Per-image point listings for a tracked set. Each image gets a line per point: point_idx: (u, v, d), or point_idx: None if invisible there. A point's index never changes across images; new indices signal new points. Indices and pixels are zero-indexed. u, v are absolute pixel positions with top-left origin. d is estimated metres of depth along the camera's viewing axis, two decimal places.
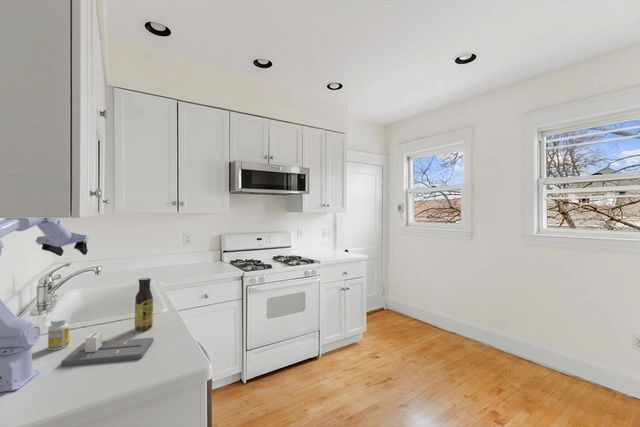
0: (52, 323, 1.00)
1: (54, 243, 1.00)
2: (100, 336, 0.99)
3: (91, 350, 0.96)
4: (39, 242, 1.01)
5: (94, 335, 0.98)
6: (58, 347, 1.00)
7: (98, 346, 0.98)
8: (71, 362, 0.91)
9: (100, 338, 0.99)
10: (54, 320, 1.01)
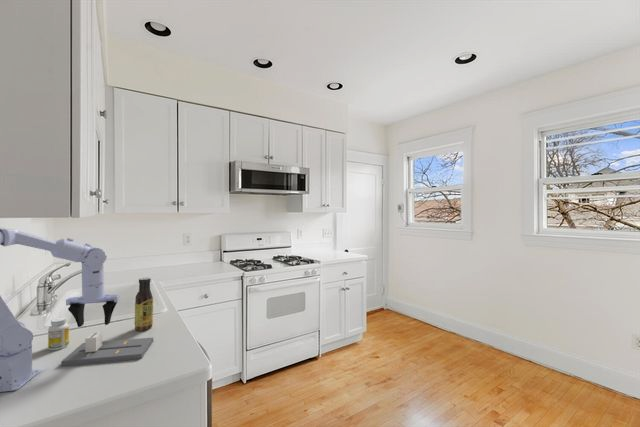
0: (52, 323, 1.00)
1: (86, 297, 0.95)
2: (100, 336, 0.99)
3: (91, 350, 0.96)
4: (69, 301, 0.95)
5: (94, 335, 0.98)
6: (58, 347, 1.00)
7: (98, 346, 0.98)
8: (71, 362, 0.91)
9: (100, 338, 0.99)
10: (54, 320, 1.01)
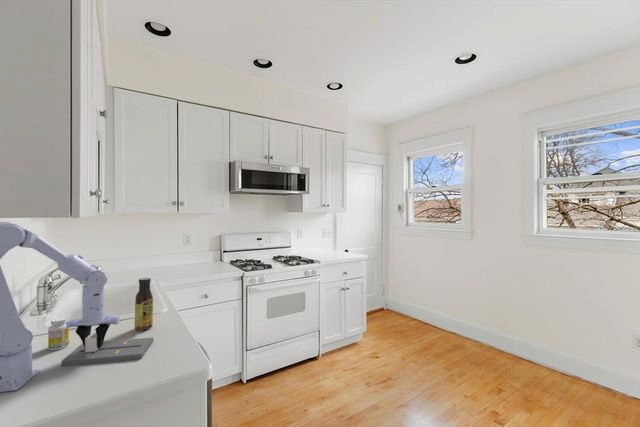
0: (52, 323, 1.00)
1: (86, 320, 0.95)
2: None
3: (91, 350, 0.96)
4: (69, 324, 0.95)
5: (94, 335, 0.98)
6: (58, 347, 1.00)
7: None
8: (71, 362, 0.91)
9: None
10: (54, 320, 1.01)
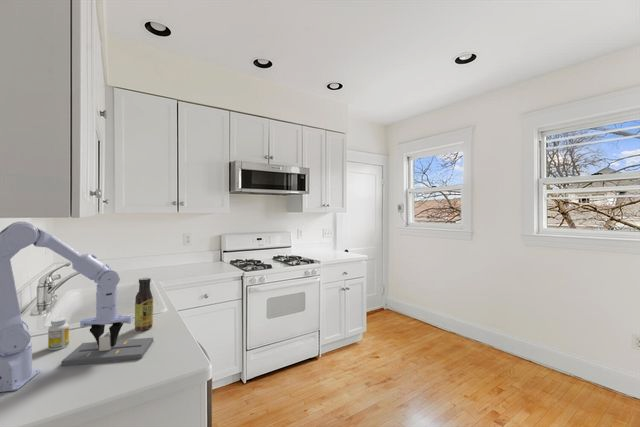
0: (52, 323, 1.00)
1: (100, 319, 0.96)
2: None
3: (105, 349, 0.97)
4: (83, 323, 0.96)
5: (107, 334, 0.98)
6: (58, 347, 1.00)
7: None
8: (71, 362, 0.91)
9: None
10: (54, 320, 1.01)
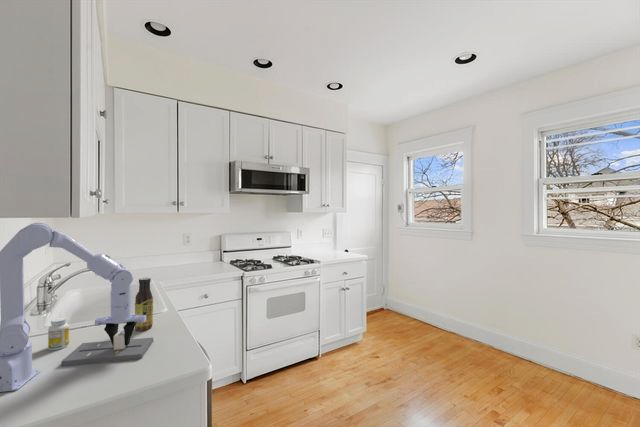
0: (52, 323, 1.00)
1: (114, 318, 0.97)
2: None
3: (119, 348, 0.98)
4: (98, 322, 0.97)
5: (122, 333, 0.99)
6: (58, 347, 1.00)
7: None
8: (71, 362, 0.91)
9: None
10: (54, 320, 1.01)
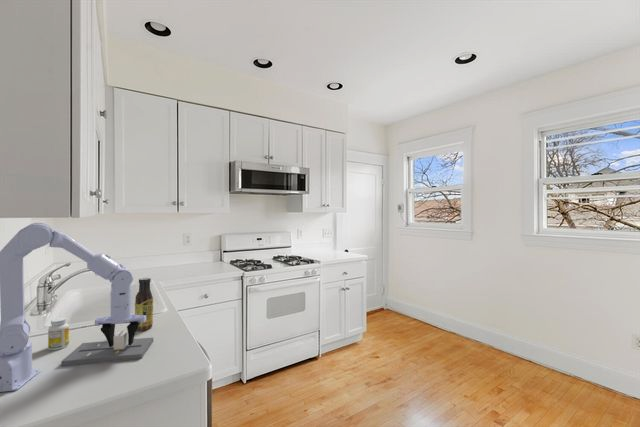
0: (52, 323, 1.00)
1: (114, 318, 0.97)
2: (127, 334, 1.01)
3: (119, 348, 0.98)
4: (98, 322, 0.97)
5: (122, 333, 0.99)
6: (58, 347, 1.00)
7: (125, 344, 1.00)
8: (71, 362, 0.91)
9: (127, 336, 1.01)
10: (54, 320, 1.01)
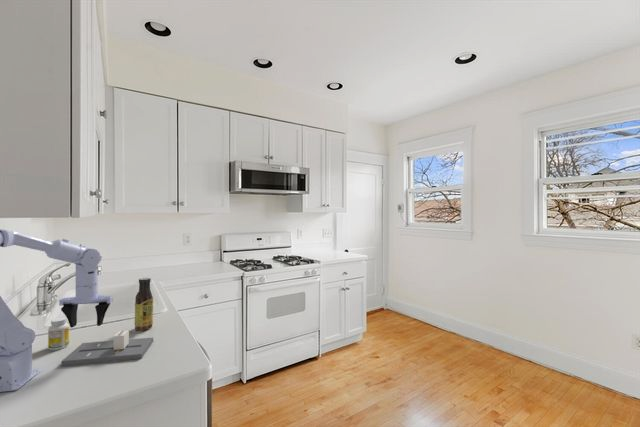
0: (52, 323, 1.00)
1: (79, 298, 0.95)
2: (127, 334, 1.01)
3: (119, 348, 0.98)
4: (62, 301, 0.96)
5: (122, 333, 0.99)
6: (58, 347, 1.00)
7: (125, 344, 1.00)
8: (71, 362, 0.91)
9: (127, 336, 1.01)
10: (54, 320, 1.01)
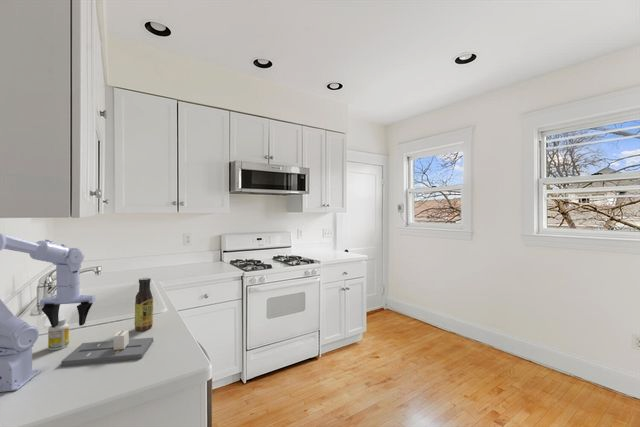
0: None
1: (60, 298, 0.95)
2: (127, 334, 1.01)
3: (119, 348, 0.98)
4: (43, 301, 0.95)
5: (122, 333, 0.99)
6: (58, 347, 1.00)
7: (125, 344, 1.00)
8: (71, 362, 0.91)
9: (127, 336, 1.01)
10: None
